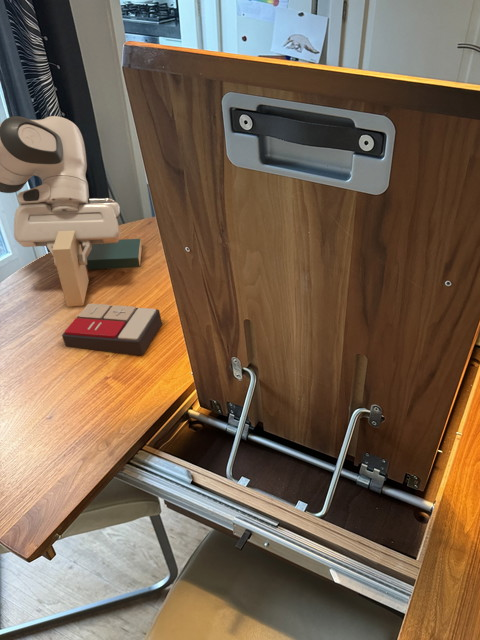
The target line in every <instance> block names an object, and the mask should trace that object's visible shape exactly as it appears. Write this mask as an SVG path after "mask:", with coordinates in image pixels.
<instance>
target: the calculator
mask: <svg viewBox="0 0 480 640" xmlns="http://www.w3.org/2000/svg"><path fill="white" fill-rule="evenodd" d="M162 324H163V322H162V318H161V313H160V309H157V308H148V307H136V306H131V305H117V304H115V305H111V304H102V303H88V304H86V306H84V308H83V309H82V310H81V311H80V313H78V315H77V317H76V318H74V319H73V320H72V321H71V323H70V324H69V325H68V326H67V328H66V329H65V330H64V332H63V333H62V335H61V337H62V340H63V343H64V345H65V347H67V348H74V349H75V348H76V349H83V350H92V351H99V352H107V353H116V354H121V355H122V354H124V355H130V356H131V355H132V356H138V357H141V356H143V355H144V354H145V352H146V350H147V349H148V348H149V346H150V344H151V343H152V341H153V339H154V338H155V336H156V334H157V333H158V331H159V329H160V328H161V326H162Z"/></svg>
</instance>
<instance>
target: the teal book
mask: <svg viewBox="0 0 480 640" xmlns="http://www.w3.org/2000/svg"><path fill="white" fill-rule="evenodd" d="M141 241H142V240H141V238H123V239H121V238H120V240H119V241H118V243H105V244H92V250H91V251H90V253H89V255H88V257H87V270H88V271H91V270H109V269H110V270H111V269H127V268H128V269H129V268H140V267H141V260H142V251H143V248H142V242H141ZM82 248H83V250H84V247H83V244H82Z"/></svg>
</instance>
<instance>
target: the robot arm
mask: <svg viewBox="0 0 480 640" xmlns="http://www.w3.org/2000/svg"><path fill="white" fill-rule="evenodd" d="M86 152H87V151H86V145H85V141H84V138H83V134H82V132H81V130H80V129H79V127H78V126H77V125H76V124H75V123H74V122H73V121H71V120H69V119H68V118H65V117H62V116H58V115H50V116H46V117H45V118H43V119H42V118H41V119H29V118H27V117H25V116H19V115H17V116H16V115H13V116H9V117H7V118H5V119H4V120H2V121H1V123H0V193H4V194H14V193H17V192H18V194H17V201H18V204H19V206H18V207H17V208H16V210H15V212H14V219H13V222H14V223H13V237H14V239H15V241H16V242H17V243H18V244H19V245H20V246H21V247H24V248H31V247H32V248H33V247H34V248H35V247H46V248H47V249H48V250H49V253H51V255H52V257H54V255H53V252H52V248H53V246H54V243H55V240H56V237H57V234H58V231H75V237H76V240H79V245H82V244H83V247H84V250H83V252H82V254H79V255H78V263H79V265H87V257H88V255H89V253H90V251H91V250H92V244H105V243H118V241H119V240H121V238H122V237H121V230H120V225H119V221H118V218H119V217H120V214H121V211H120V205H119V203H118V202H117V201H116V200H114V199H112V198H111V197H105V198H100V197H98V198H97V197H94V198H91V197H90V192H89V191H90V190H89V182H88V180H87V177H86V174H87V169H88V163H87V162H88V161H87V153H86ZM33 176H35V177H38V178H39V179H40V180H41V184H40V185H38V186H35V187H32V188H29V189H26V190H23V191H21V190H22V189H23V188H24V186H25V185H26V184H27V183H28V181H29V180H30V179H31V178H32V177H33ZM19 191H21V192H19ZM53 264H54V266H56V263H55V259H54V258H53Z"/></svg>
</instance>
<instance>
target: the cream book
mask: <svg viewBox="0 0 480 640" xmlns="http://www.w3.org/2000/svg"><path fill="white" fill-rule="evenodd" d="M52 252H53V255H54V256H53V255H52V256H53V260H54V259H55V263H56V265H55V267H56V271H57V274H58V278H59V281H60V285H61V288H62V292H63V296H64V300H65V303H66V307H68V308H69V307H82V306H84V304H85V300H86V295H87V290H88V286H89V281H90V274H89V270H87V265H79V263H78V255H79V254H82V252H83V248H82V245H79V240H76V237H75V231H58V234H57V237H56V240H55V243H54V246H53V248H52Z"/></svg>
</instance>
